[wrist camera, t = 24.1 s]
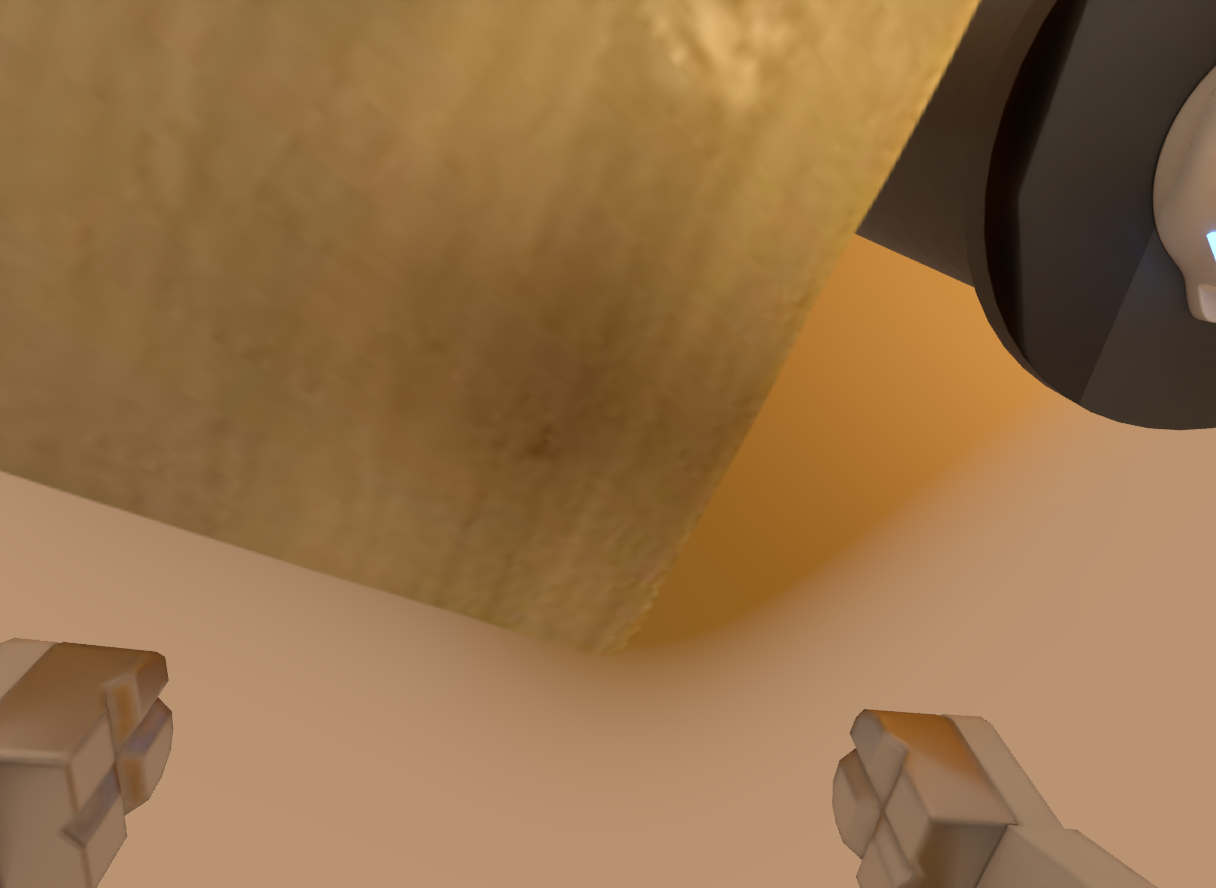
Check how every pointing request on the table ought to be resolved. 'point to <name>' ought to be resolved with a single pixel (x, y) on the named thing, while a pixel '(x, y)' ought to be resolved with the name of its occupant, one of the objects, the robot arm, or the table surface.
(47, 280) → the table surface
